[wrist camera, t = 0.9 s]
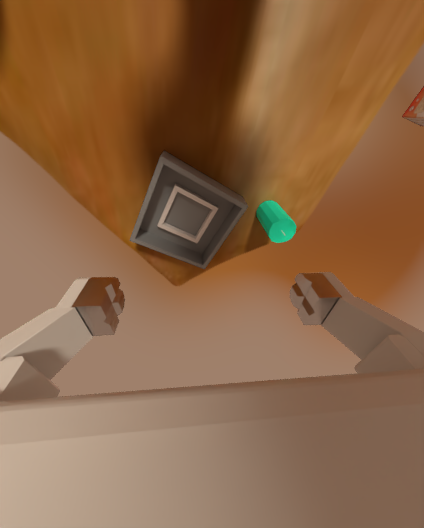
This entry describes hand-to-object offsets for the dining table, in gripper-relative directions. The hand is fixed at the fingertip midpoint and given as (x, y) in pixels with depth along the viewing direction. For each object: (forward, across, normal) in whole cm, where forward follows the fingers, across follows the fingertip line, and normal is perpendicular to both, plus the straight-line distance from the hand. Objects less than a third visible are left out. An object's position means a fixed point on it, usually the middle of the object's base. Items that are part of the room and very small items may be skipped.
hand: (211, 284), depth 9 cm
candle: (+40, -18, +12) cm, 45 cm away
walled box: (+39, +2, +13) cm, 42 cm away
